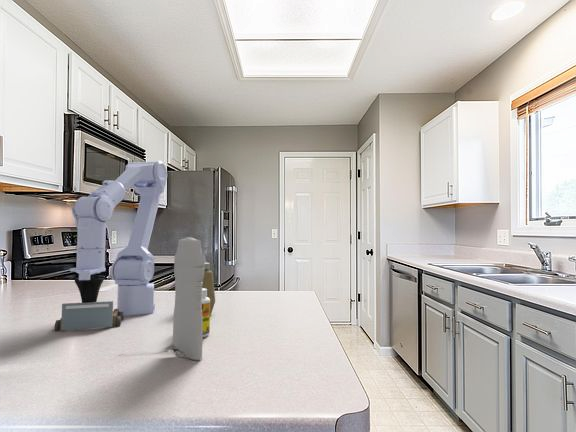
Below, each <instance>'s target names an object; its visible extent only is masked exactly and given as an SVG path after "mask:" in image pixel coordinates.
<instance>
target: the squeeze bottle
mask: <svg viewBox="0 0 576 432" xmlns="http://www.w3.org/2000/svg"><path fill="white" fill-rule="evenodd" d="M201 250H202V255H203V257H204V258H205V265H204V278H203V280H202V283H203V285H202V288H205V289H207V296H206V297H208V298H210V315H212V312H213V310H214V306H215V303H216V294H215V282H214V280H215V279H214V272H213V271H212V270H210V269H211V268H210V267H211V264H210V262H207V259H206V255H205V254H206V253H205V250H204V249H201Z"/></svg>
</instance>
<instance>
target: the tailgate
mask: <svg viewBox="0 0 576 432" xmlns="http://www.w3.org/2000/svg"><path fill="white" fill-rule="evenodd" d="M113 311H114V301H113V300H110V301H109V300H108V301H107V300H105V301H97V302H85V303H82V302H70V303H66V302H65V303H62V304H61V317H62V319H61V318H60V319H61V330H67V331H74V330H73V329H81V330H88V329H87V328H95V329H102V328H101V327H109V328H113V327H112V325H113Z"/></svg>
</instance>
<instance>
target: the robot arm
mask: <svg viewBox="0 0 576 432" xmlns="http://www.w3.org/2000/svg"><path fill="white" fill-rule="evenodd" d="M167 179H168V171H167V167H166V165H165V163H164V162H163V161H161V160H157V161H131V162H129V163H128V164H126V165H125V170H124V171H123V172H122V173H121V174H120V175H119V176H118V177H117V178H116V179H115V180H109V179H108V180H107V179H106V180H104V181H103V182H101V184H102V185H100V186H99V187H98V188H96V189H95V190H92V191H91V192H90V194H89V195H88V196H81V197H79V198H77V199H76V200H75V202H74V203H73V205H72V206H73V207H72V208H71V213H72V217H73V218H74V221H75V223H74V226H75V227H76V229H77V235H76V236H77V240H76V241H77V242H76V266H75V267H70V268H69V272H75V273H77V274H78V277H75V278H74V283H75V285H76V286H77V288H78V291H79V294H80V299H81V300H80V301H81V303H85V302H98V297H99V292H100V289H101V287H102V284H103V282H104V281H105V280H106V276H105V275H97V274H101V273H103V272H106V270H107V269H106V242H107V241H106V239H107V237H106V236H107V221H109V220H111V218H112V216H113V214H114V213H113V212H114V209H115V208H116V206H117V205H118V204H119V203H121V202H122V201H123V200H124V198H125V197H126V196H127V195H126V191H127V190H129V189H130V188H132V189H134V192H135V193H136V194H137V195H140V199H139V204H138V207H137V210H136V214H135V218H134V222H133V225H132V228H131V232H130V236H129V239H128V243H127V246H126V247H125V248H123V249H122V250H120V251H119V252H118V253H117V255H116V258H115V260H114V261H113V262H112V264H111V267H110V275H111V276H110V277H111V278H112V280H113V281H114V283H115V285H117V299H116V300H117V302H116V304H117V307H116V309H119V312H123V316H136V315H147V314H148V315H149V314H150V315H151V314H154V311H155V306H156V305H155V304H156V303H154V300H155V299H154V296H155V283H151V282H150V281H151V280H152V278H153V277H154V274H155V256H154V255H153V253H151V252H150V251H149V250H148V249H149V245H150V241H151V236H152V233H153V228H154V226H155V225H154V224H155V220H156V215H157V212H158V208H159V204H160V200H161V196H162V194H163V192H165V186H166V184H167Z"/></svg>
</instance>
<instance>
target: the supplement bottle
mask: <svg viewBox="0 0 576 432" xmlns="http://www.w3.org/2000/svg"><path fill="white" fill-rule="evenodd" d="M206 296H207V289H205V288H202V318H203V331H202V339H203V338H205V337H208V336H209V335H210V329H211V328H210V326H211V325H210V324H211V323H210V322H211V314H210V298H208V297H206Z"/></svg>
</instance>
